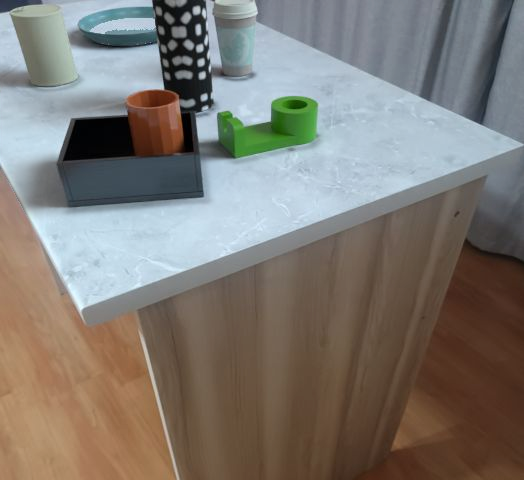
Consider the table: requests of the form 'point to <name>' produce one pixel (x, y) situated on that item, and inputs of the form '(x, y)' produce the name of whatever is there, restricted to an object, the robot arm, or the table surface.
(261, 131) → the tape dispenser
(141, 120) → the cup
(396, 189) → the table surface
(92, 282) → the table surface
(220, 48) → the coffee cup
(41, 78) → the can
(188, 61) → the white-spotted black cylinder
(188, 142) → the dark grey storage bin
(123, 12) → the teal plate
